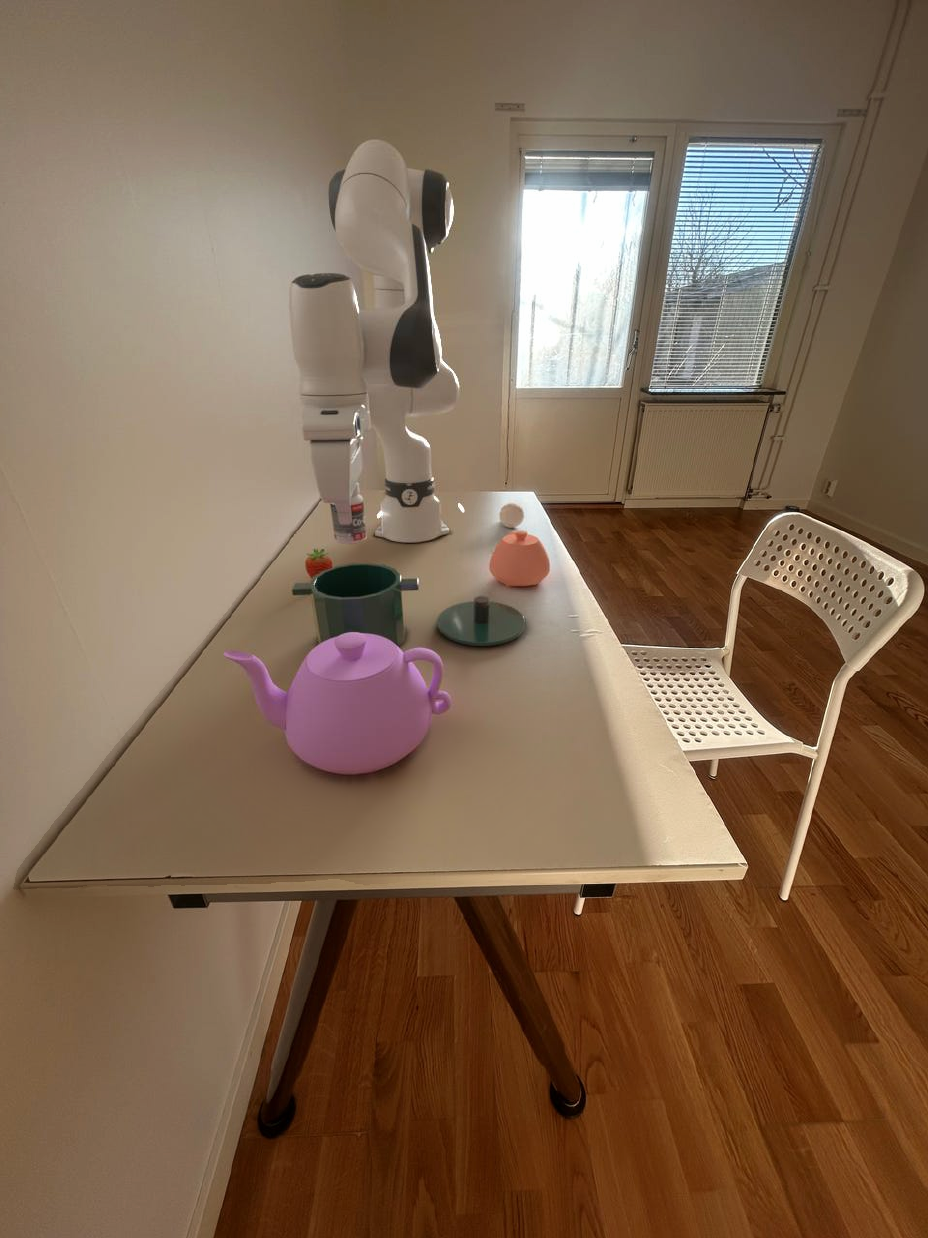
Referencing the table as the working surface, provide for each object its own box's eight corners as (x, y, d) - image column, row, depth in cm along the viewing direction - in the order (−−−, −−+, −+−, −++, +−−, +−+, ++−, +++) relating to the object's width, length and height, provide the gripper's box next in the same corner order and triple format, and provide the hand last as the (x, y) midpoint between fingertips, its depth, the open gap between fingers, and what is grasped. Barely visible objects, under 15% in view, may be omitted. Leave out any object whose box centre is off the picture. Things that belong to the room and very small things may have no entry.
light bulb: (514, 528, 143) (524, 530, 133) (491, 525, 142) (500, 526, 131) (518, 504, 142) (529, 504, 131) (495, 501, 141) (504, 500, 130)
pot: (310, 620, 91) (301, 565, 86) (420, 615, 92) (417, 560, 87) (294, 663, 78) (282, 602, 73) (421, 657, 80) (418, 596, 75)
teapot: (440, 681, 74) (437, 595, 68) (465, 769, 59) (464, 669, 52) (259, 703, 70) (237, 614, 63) (234, 804, 54) (202, 700, 48)
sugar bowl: (496, 594, 100) (497, 543, 95) (482, 566, 112) (483, 521, 107) (556, 589, 101) (561, 540, 97) (536, 563, 114) (539, 518, 109)
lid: (436, 608, 95) (435, 582, 92) (516, 604, 96) (517, 579, 93) (439, 651, 81) (438, 622, 79) (532, 646, 82) (534, 618, 80)
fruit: (303, 587, 103) (297, 550, 99) (320, 578, 107) (314, 541, 103) (324, 592, 101) (319, 554, 97) (341, 582, 105) (336, 545, 101)
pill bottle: (360, 545, 75) (353, 488, 71) (329, 543, 76) (321, 486, 72) (371, 535, 79) (366, 480, 75) (342, 533, 80) (335, 479, 76)
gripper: (325, 408, 78) (336, 498, 85) (298, 427, 60) (315, 540, 67) (366, 407, 78) (375, 497, 85) (352, 426, 60) (364, 538, 67)
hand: (348, 516), depth 76 cm, fingers closed on pill bottle, 5 cm apart
